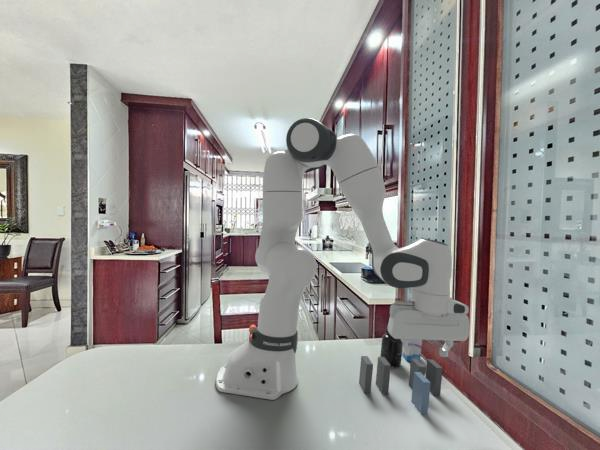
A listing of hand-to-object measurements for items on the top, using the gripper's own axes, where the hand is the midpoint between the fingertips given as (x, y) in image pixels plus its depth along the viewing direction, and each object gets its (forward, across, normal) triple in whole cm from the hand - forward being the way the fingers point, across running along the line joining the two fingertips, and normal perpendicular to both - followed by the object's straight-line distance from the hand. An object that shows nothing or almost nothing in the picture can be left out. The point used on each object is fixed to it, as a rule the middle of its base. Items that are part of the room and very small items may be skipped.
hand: (425, 355), depth 75 cm
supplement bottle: (+14, +1, +24) cm, 28 cm away
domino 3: (+14, +2, +8) cm, 16 cm away
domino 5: (+14, +7, +8) cm, 18 cm away
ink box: (+14, +11, +30) cm, 35 cm away
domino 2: (+14, -8, +8) cm, 18 cm away
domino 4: (+14, -1, 0) cm, 14 cm away
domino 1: (+13, -13, +8) cm, 20 cm away
